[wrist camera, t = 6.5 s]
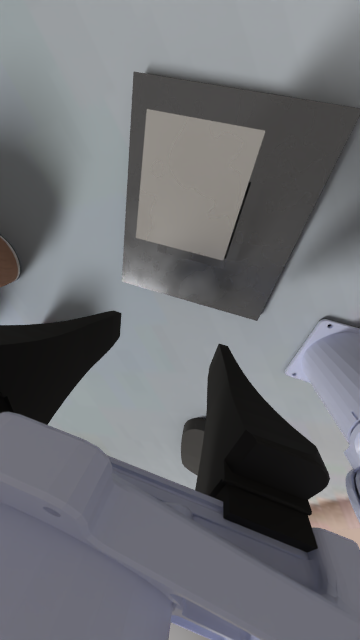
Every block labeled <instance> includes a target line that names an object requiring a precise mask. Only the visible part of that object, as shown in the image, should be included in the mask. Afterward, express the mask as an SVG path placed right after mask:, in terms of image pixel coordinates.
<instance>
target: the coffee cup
mask: <svg viewBox="0 0 360 640" xmlns="http://www.w3.org/2000/svg"><path fill="white" fill-rule="evenodd" d="M19 274H20V264H19V260H18V257H17V255H16V253H15V251H14V250H13V248H12V247H11V245H10V244H9V243H8V242H7V241H6V240H5V239H4V238H3V237H2V236H0V287H2V286H5V285H8V284H9V283H12V282H14V281H16V280H17V279H18V277H19Z"/></svg>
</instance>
